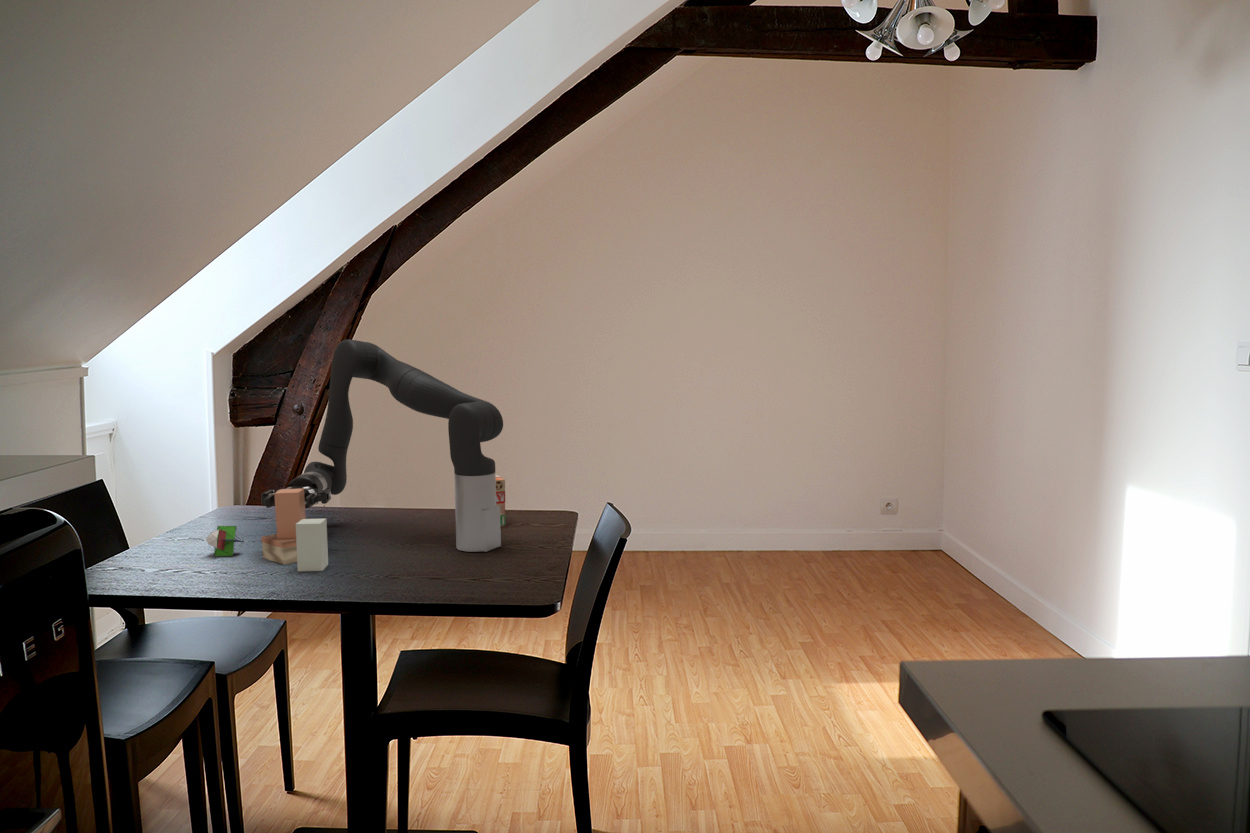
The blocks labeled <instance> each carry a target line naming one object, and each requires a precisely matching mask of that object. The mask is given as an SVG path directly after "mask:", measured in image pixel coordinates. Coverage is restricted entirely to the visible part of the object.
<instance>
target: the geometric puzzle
mask: <svg viewBox="0 0 1250 833" xmlns="http://www.w3.org/2000/svg"><path fill="white" fill-rule="evenodd" d="M216 529H217V530H215V531H213V532H210V534H208V536H207V537H206V538H205V541H206V543H207V544H208V546H209V548H211V547H210V546H212V547H213V550H214V552H213V557H233V556H234V553H235V550H237V547H236V548H235V546H236V544H235V543H242V544H244V543H245V541H244V540H242V539H241V538H240V537H238V536H237V534H236V532H237V525H217V527H216ZM237 538H238V539H239V540H238V539H237ZM238 547H239V548H238V549H240V547H241V544H239V545H238Z"/></svg>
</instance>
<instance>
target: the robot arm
mask: <svg viewBox="0 0 1250 833" xmlns="http://www.w3.org/2000/svg"><path fill="white" fill-rule="evenodd" d="M331 362H332V363H331V371H330V380H329V388H328V403H327V410H326V416H325V419H324V424H323V427H322V431H321V435H320V439H319V442H318V448H317V449H318V452H319V453H320V454H321V455H323V456H325V457H327V458H328V459H330V460H331V461H332V463H333V465H332V464H328V463H324V462H321V461H311V462H309V463H307V465H306V467H305V468H304V472H303V473H301V474H300V475H298V476H296V477H295V478H293V479H291V480H290V481H289V483H288V484H287V486H286V488H285V489H303V488H304V497H305V510H306V509H310V508H311V507H313V506H315V505H319V502H321V504H323V505H326V504H328V503H329V502H330V500H331V499H332V495H333V496H336V495H339V494H341V493H342V492H343V491H344V490H345V487H346V485H347V476H348V475H347V454H348V449H349V446H350V442H351V438H352V434H353V430H354V418H353V412H352V410H351V404H350V399H349V392H350V385H351V384H352V383H351V382H352V380H353V378H356V379H357V378H358V379H364V380H370V381H373V382H376V383H378V384H381V385H383V386H385V387H386V388H388V390H389V392H390V394H391V396H392V397H393V398H394V399H395V400H396V401H397V402H398V403H400V404H402V405H403V406H405V407H407V408H409V409H411V410H413V411H414V412H417V413H421V414H423V415H428V416H432V417H437V418H443V419H446V420H448V424H447V425H448V427H447V430H448V442H449V456H450V461H451V462H452V465H453V469H454V470H453V472H454V506H455V507H454V509H455V512H454V514H455V539H456V540H455V544H456V549H457V550H458V551H463V552H470V553H471V552H472V553H473V552H475V553H477V552H478V553H479V552H485V553H486V552H489V551H492V550H494V549H496V548H497V549H498V548H499V547H502V542H501V541H502V540H501V539H502V537H501V536H502V535H501V526H500V506H499V505H496V475H497V473H496V462H495V460H494V459H493V458H490V457H487V456H485V455H484V454H483V453H482V446H481V443H486V442H489V441H492V440H494V439H495V438H498V436H500V435H501V433H502V432H503V428H504V420H503V419H504V418H503V416H502V413H501V412H500V410H499V409H498V408H497V406H495V405H494V404H493V403H491V402H489V401H487V400H484V399H481V398H477V397H475V396H474V395H473V396H472V395H470V394H468V393H465V392H462V391H461V390H458V389H456V388H455V387H453V386H451V384H450V385H449V384H447V383H446V382H444V381H442V380H439V379H438V378H436V377H435V376H433V375H431V374H429V373H427V372H426V371H424V370H421V369H419V368H417V367H416V366H415V367H414V366H413V365H411V364H409V363H406V362H404V361H400V360H398V359H397V358H395V357H394V356H392V355H391V354H390V353H388V352H386V350H384V349H383V348H382V347H380V346H378V345H376V344H375V343H372V342H369V341H361V340H357V339H349V338H348V339H343V340H341V341H340V342H338V344H337V346H336V347H335V350H334V352H333V357H332V361H331ZM279 490H280V489H277V490H276V491H275V489H273V488H270V489H268V490H266V491H263V492H262V493H261V494H260V496H261V498H260V499H261V500H260V501H261V505H262V506H264V507H265V508H266V509H271V507H274V506H275V494H274V493H276V492H277V491H279Z"/></svg>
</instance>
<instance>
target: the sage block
mask: <svg viewBox="0 0 1250 833" xmlns="http://www.w3.org/2000/svg"><path fill="white" fill-rule="evenodd" d="M327 522H328V521H327V518H306V519H302V520H300V521H299V522H298V523H296V544H297V562H296V564H297V572H323V571H324V570H325V569H326V568H327V567H328V566H329V552H328V548H329V547H328V525H327Z"/></svg>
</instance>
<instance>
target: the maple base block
mask: <svg viewBox="0 0 1250 833" xmlns="http://www.w3.org/2000/svg"><path fill="white" fill-rule="evenodd" d="M260 538H261V539H260V541H261V544H262V545H261V546H262V558H263V559H264V558H265V559H264V560H268V561H271V562H274V561H275V562H274V563H277V562H278V563H277V564H281V565H289V564H294V563H297V544H296V538H285V539H277V533H275V534H269V535H264V536H261V537H260Z"/></svg>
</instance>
